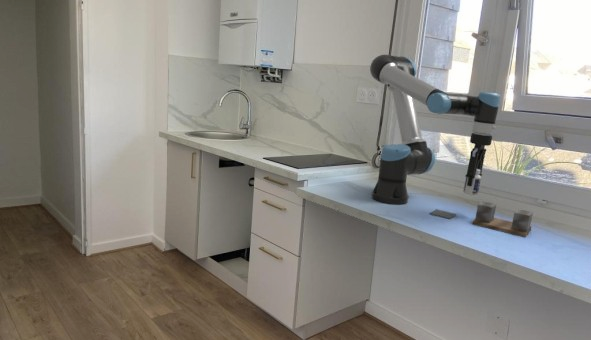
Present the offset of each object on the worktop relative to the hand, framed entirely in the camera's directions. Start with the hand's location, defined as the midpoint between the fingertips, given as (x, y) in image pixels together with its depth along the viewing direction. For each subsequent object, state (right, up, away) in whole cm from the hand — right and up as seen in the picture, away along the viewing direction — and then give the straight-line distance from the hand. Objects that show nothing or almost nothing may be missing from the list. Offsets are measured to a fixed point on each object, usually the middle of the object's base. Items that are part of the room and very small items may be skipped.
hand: (470, 192), depth 170 cm
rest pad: (-10, -9, +1) cm, 14 cm away
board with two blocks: (+8, -12, -8) cm, 17 cm away
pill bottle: (0, -1, 0) cm, 1 cm away
